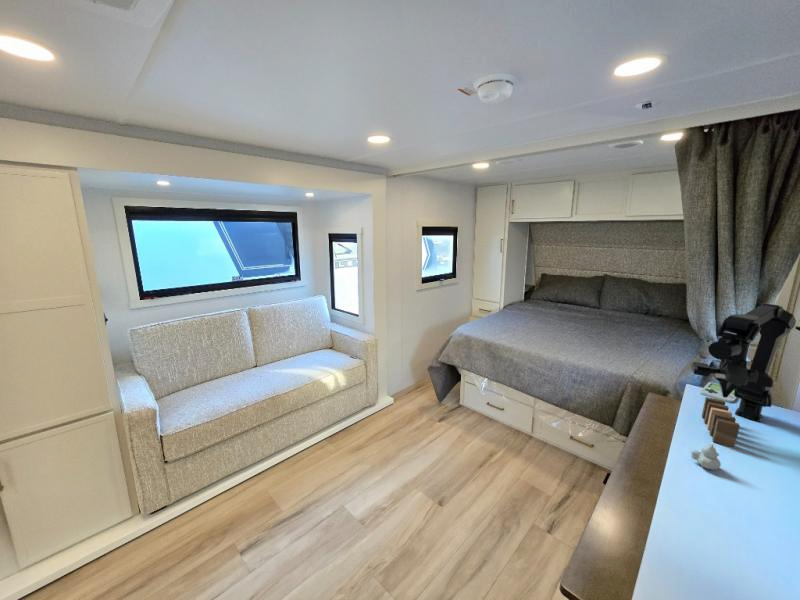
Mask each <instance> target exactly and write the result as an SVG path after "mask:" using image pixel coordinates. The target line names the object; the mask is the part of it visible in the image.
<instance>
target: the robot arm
mask: <svg viewBox="0 0 800 600" xmlns="http://www.w3.org/2000/svg"><path fill="white" fill-rule="evenodd" d="M796 322H797V320H796V317H795V316H794V314H793V313H791V312H790V311H787V310H786V309H784V307H783V306H781V305H778V304H772V303H760V304H759V305H758V306H757V307H755V308H754V309H751V310H750V311H748V312H746V313H742V314H741V313H740V314H739V313H736V314H731V315H729V316H727V317H725V318H724V320H723V321H722V323H721V325H720V327H719V329H718V331H717V332H716V333H715V336H717V337H719V338H718V341H713V342H712V343H711V344H709V346H708V348H707V349H708V353H709V354H710V355H711V357H713V358H714V359H716V360H720V361H719V363H718V368H715V367H710V366H709V364H708V363H705V362H699V361H693V362H691V367H690V369H691V371H692V373H693V375H697V376H701V377H702V376H703V377H707V376H710V375H712V376H713V378H714V379H715V380H716V381H717V382H718V384H719V385H720V388H721V392H722V396H723V397H725V398H727V397H728V396H729V394H730V393H731V392H732V391H733V390H734V389H735V392H734V396H735V397H737V398H739V399H740V401H739V406H738V408H737V409H736V410H735V413H734V414H735V415H736V416H740V417H742V418H745V419H748V420H752V421H756V422H761V421H762V418H763V414H762V412H763V407H764V408H767V407H768V408H771V407H772V405H773V400H774V397H773V395H772V392H771V391H770V390H771V388H773V387H774V383H775V382H774V379H773V378H772V377H771V375H769V372H770V369H771V366H772V364H773V360H774V357H775V356H776V355H775V354H776V352H777V349H778V346H779V343H780V341H781V340H782V338H784V337H786V336H787V335H789V334H790V332H791V331H792V330H793V329H794V328H795V326H796ZM759 334H760V338H759V341H758V343H757V346H756V349H755V352H754V355H753V359H752V361H751V364H750V367H749V368H747V364H748V363H747V362H748V361H747V357H748V353H749V349H750V346H751V342H752V341H754V340H755V339H756V338H757V336H758V335H759Z"/></svg>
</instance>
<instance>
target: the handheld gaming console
mask: <svg viewBox="0 0 800 600" xmlns="http://www.w3.org/2000/svg"><path fill="white" fill-rule="evenodd" d="M734 392H735V389H734V390H733V391H732V392H731V393H730V394H729V396H728V397H727V398H725V397H723V396H722V392H721V388H720V384H719V383H715V382H712V381H709V382H708V383H706V385H704V387H703V388H702V389H701V390H700V392H699V394H700V395H702V396H704V397H708V398H713V399H718V400H723V401H725V403H734V402H735V401H736V399H737V398H738V397H735V396H734Z"/></svg>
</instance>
